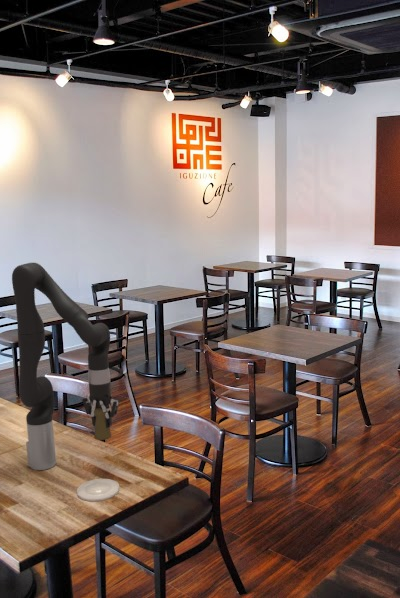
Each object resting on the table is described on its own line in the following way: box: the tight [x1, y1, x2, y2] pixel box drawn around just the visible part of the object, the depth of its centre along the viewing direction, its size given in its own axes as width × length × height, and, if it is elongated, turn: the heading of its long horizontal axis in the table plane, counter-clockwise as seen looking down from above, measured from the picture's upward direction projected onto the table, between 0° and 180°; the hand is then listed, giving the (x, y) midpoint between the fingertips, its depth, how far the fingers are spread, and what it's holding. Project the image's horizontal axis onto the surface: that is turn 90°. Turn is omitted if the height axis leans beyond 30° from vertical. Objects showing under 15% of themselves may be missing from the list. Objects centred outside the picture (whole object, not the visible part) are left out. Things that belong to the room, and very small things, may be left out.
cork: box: [93, 408, 112, 441], centre depth 217 cm, size 6×6×11 cm
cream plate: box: [76, 478, 120, 502], centre depth 206 cm, size 14×14×1 cm
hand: (102, 426), depth 218 cm, fingers closed on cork, 4 cm apart
